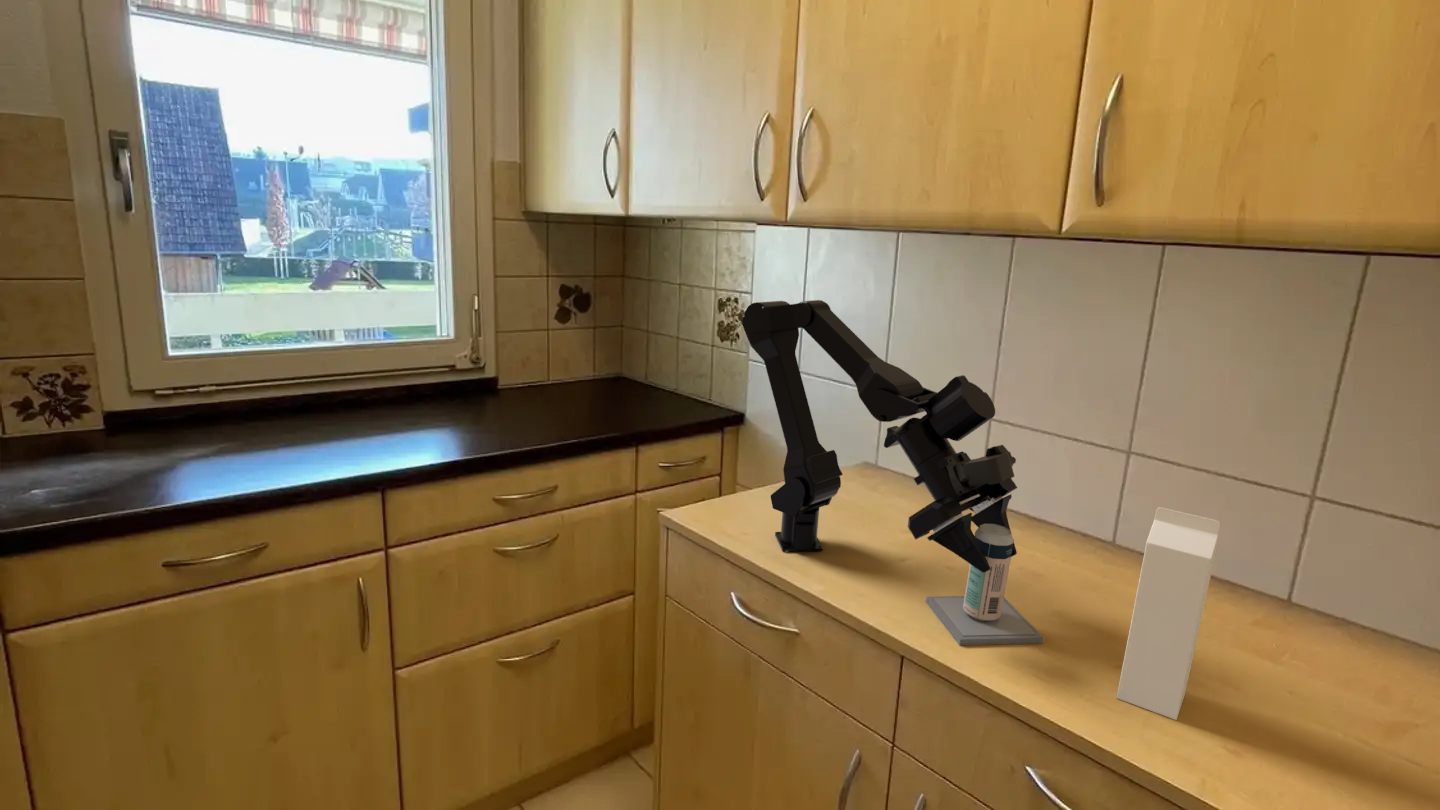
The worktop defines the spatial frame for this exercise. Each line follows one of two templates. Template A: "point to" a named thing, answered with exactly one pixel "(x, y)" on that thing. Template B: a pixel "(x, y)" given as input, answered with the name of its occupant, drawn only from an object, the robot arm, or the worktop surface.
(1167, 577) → the milk
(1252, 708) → the worktop surface
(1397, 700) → the worktop surface
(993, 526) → the beer can
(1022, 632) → the trivet
